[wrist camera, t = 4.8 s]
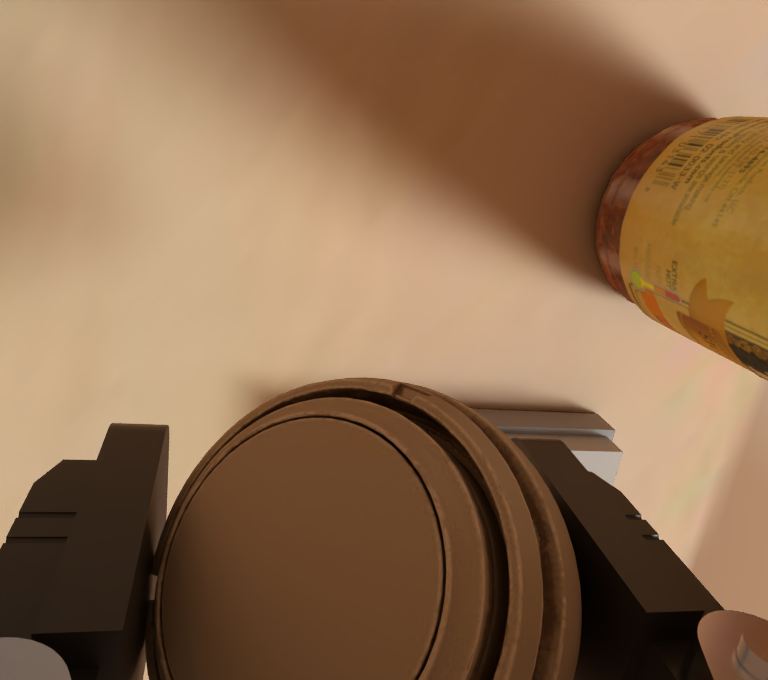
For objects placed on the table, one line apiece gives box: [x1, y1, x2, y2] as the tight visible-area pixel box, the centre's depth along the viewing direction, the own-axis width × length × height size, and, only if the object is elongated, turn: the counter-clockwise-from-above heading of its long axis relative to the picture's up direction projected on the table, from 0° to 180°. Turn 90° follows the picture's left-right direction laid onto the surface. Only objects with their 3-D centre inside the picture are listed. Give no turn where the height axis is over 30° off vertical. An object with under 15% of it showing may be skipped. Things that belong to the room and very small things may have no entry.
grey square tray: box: [473, 409, 623, 486], centre depth 22 cm, size 10×10×2 cm
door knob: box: [145, 378, 582, 680], centre depth 8 cm, size 5×5×5 cm
